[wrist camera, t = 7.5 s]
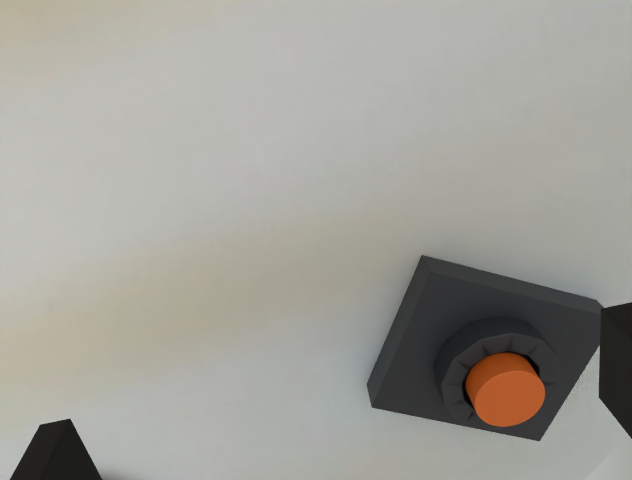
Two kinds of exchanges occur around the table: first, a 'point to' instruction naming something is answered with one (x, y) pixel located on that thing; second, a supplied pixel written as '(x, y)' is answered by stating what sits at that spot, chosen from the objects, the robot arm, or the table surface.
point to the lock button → (504, 389)
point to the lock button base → (480, 343)
